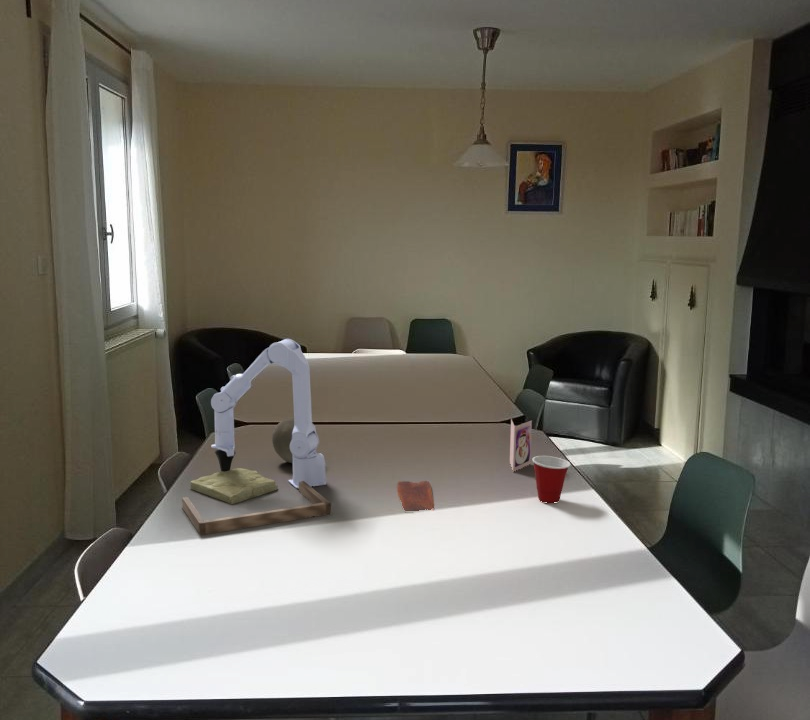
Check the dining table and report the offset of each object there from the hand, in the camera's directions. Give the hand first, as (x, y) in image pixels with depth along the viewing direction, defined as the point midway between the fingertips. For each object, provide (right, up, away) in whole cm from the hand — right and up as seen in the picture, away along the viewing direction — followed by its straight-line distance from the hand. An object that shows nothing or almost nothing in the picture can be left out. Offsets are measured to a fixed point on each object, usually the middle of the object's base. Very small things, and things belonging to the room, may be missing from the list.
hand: (225, 473), depth 240 cm
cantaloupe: (+19, +1, +16) cm, 25 cm away
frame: (+15, -6, -29) cm, 33 cm away
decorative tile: (+5, -4, -10) cm, 12 cm away
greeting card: (+91, 0, +15) cm, 92 cm away
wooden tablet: (+58, -5, -15) cm, 61 cm away
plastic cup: (+97, -6, -17) cm, 98 cm away
